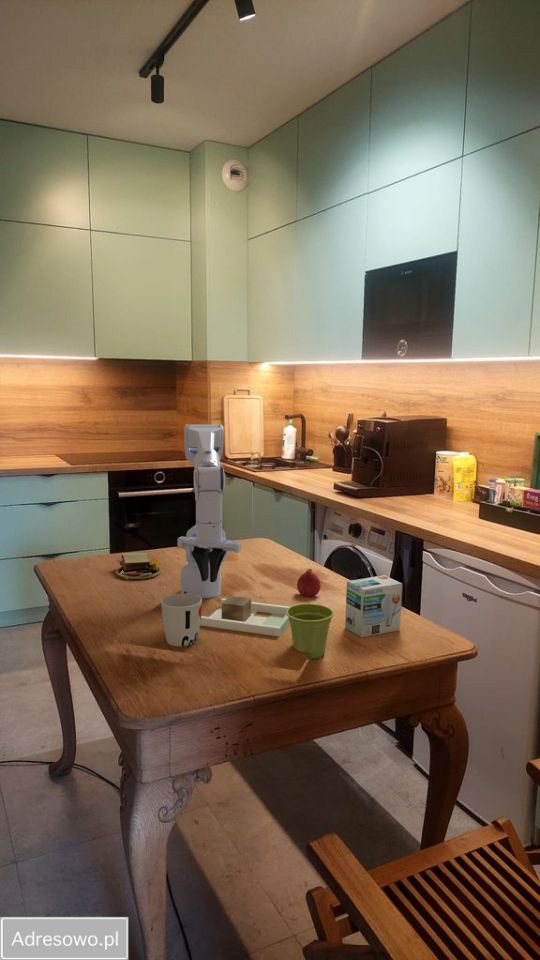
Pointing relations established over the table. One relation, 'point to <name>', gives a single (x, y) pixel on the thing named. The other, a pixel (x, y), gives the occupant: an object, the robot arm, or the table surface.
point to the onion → (308, 584)
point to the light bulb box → (373, 605)
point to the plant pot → (310, 628)
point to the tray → (252, 620)
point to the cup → (181, 618)
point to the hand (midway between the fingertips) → (209, 580)
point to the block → (236, 608)
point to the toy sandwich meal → (138, 566)
